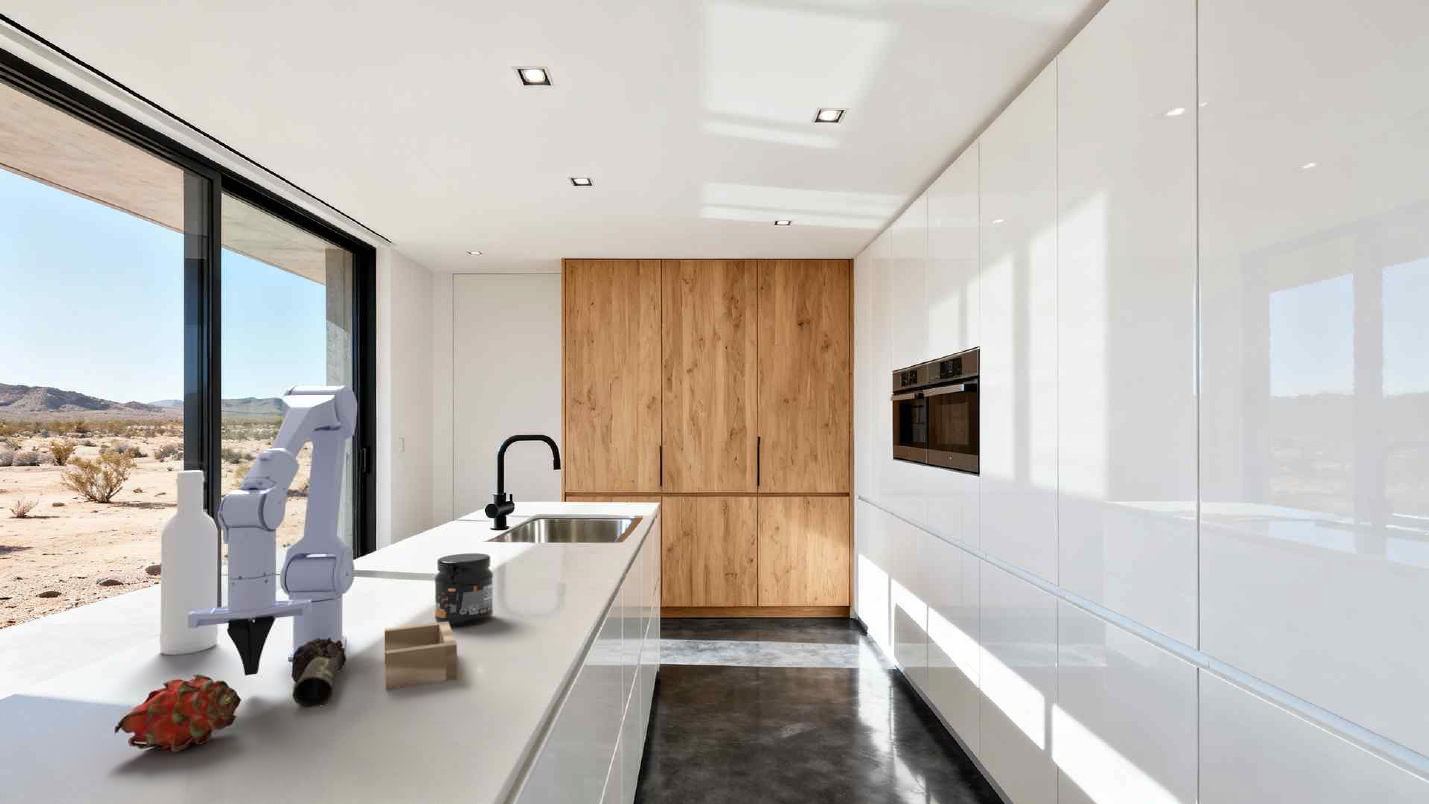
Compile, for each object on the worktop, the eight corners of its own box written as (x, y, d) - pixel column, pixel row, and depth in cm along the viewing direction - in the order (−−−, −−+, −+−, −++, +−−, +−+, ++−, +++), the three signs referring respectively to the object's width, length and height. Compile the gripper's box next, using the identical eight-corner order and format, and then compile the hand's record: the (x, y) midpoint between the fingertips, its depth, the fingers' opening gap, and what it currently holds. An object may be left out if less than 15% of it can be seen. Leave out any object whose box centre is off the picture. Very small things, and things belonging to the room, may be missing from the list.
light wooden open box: (384, 660, 115) (384, 628, 115) (448, 652, 119) (448, 621, 119) (385, 689, 102) (385, 653, 103) (456, 678, 106) (456, 644, 107)
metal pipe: (333, 706, 97) (332, 664, 97) (275, 715, 95) (275, 671, 95) (349, 665, 114) (348, 629, 114) (300, 671, 112) (299, 634, 112)
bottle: (206, 638, 129) (207, 469, 130) (225, 645, 124) (226, 470, 125) (152, 650, 122) (153, 471, 123) (170, 658, 118) (171, 473, 119)
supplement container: (432, 617, 141) (432, 555, 141) (489, 611, 145) (488, 550, 146) (436, 631, 131) (436, 564, 132) (497, 624, 136) (496, 559, 136)
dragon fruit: (249, 748, 88) (124, 789, 82) (245, 690, 94) (128, 724, 88) (237, 707, 83) (103, 747, 77) (234, 648, 89) (109, 681, 83)
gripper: (182, 586, 95) (181, 690, 95) (308, 575, 102) (308, 673, 101) (194, 576, 102) (194, 674, 101) (312, 566, 108) (312, 658, 108)
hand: (251, 672), depth 102 cm, fingers closed
